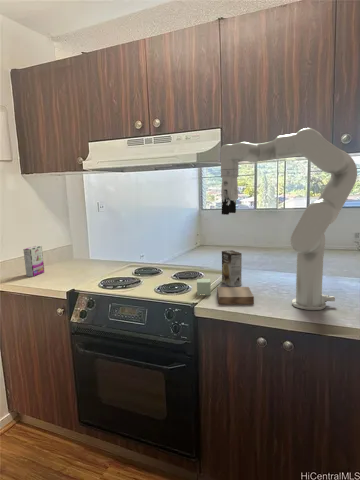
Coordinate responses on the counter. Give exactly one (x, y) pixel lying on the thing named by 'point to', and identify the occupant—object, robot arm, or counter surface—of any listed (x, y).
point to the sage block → (203, 286)
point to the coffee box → (231, 268)
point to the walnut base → (235, 295)
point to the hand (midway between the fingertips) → (228, 213)
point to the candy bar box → (33, 261)
